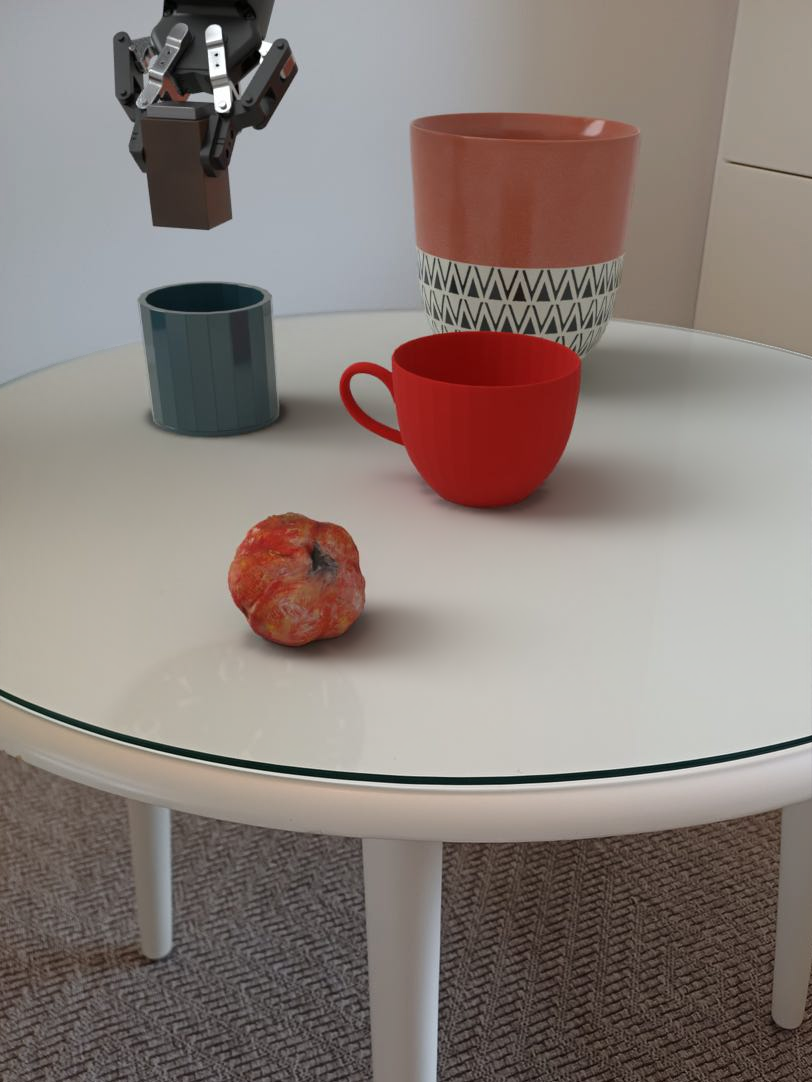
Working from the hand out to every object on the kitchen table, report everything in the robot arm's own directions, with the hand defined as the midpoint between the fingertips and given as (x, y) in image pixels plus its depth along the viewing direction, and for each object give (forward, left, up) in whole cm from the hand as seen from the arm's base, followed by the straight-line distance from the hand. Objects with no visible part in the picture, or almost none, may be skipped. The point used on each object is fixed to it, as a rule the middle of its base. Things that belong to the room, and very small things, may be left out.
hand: (176, 167), depth 79 cm
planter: (+27, +16, -20) cm, 37 cm away
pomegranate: (+10, -31, -20) cm, 38 cm away
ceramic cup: (+20, -11, -20) cm, 30 cm away
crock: (+1, +4, -20) cm, 20 cm away
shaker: (+1, +2, -4) cm, 4 cm away
